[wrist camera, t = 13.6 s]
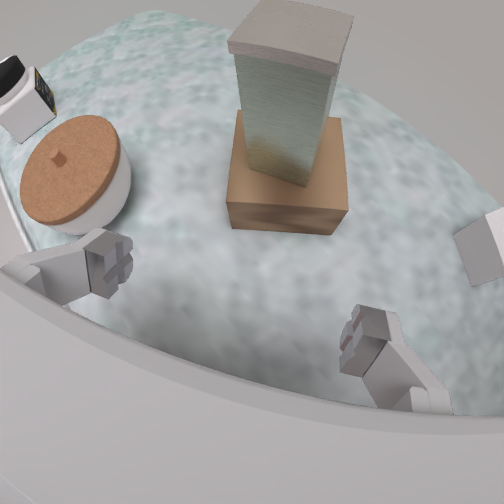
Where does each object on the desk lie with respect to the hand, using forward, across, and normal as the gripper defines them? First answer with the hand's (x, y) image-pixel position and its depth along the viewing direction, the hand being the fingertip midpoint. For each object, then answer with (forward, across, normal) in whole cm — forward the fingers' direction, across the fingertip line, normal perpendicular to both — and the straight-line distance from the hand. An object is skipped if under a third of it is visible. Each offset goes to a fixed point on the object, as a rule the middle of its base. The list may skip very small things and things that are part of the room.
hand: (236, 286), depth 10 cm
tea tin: (+15, 0, -2) cm, 15 cm away
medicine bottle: (+23, +38, 0) cm, 44 cm away
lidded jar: (+16, +18, +7) cm, 25 cm away
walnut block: (+20, 0, +2) cm, 20 cm away
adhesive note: (+20, -23, +2) cm, 30 cm away
